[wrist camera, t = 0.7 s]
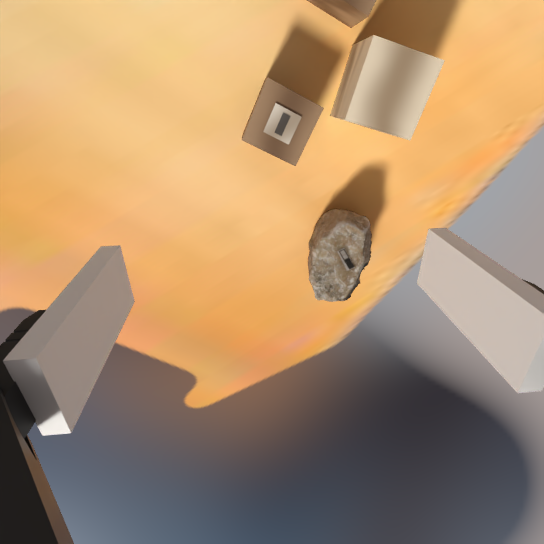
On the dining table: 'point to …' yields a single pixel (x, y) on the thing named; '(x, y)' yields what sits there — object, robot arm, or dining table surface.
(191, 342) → the dining table surface
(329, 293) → the stone
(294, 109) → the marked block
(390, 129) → the plain block
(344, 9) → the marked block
